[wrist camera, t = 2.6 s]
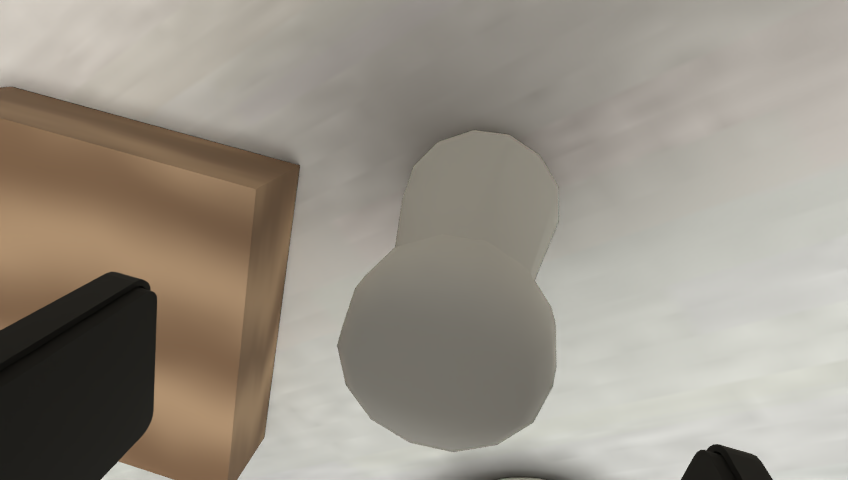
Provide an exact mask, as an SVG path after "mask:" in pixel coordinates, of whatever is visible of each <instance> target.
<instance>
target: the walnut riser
mask: <svg viewBox="0 0 848 480" xmlns="http://www.w3.org/2000/svg"><path fill="white" fill-rule="evenodd" d="M299 168H300V165H296V164H293V163H289V162H285V161H282V160H278V159H274V158H271V157H267V156H263V155H260V154H256V153H252V152H249V151H245V150H241V149H238V148H234V147H230V146H227V145H223V144H219V143H216V142H212V141H208V140H205V139H201V138H197V137H194V136H190V135H186V134H183V133H179V132H175V131H172V130H168V129H164V128H161V127H157V126H153V125H150V124H146V123H142V122H139V121H135V120H131V119H128V118H124V117H120V116H117V115H113V114H109V113H106V112H102V111H98V110H95V109H91V108H87V107H84V106H80V105H76V104H73V103H69V102H65V101H62V100H58V99H55V98H51V97H47V96H44V95H40V94H36V93H33V92H29V91H25V90H22V89H18V88H14V87H3V88H0V330H2V329H4V328H6V327H7V326H9V325H11V324H13V323H15V322H17V321H19V320H20V319H22V318H24V317H26V316H28V315H30V314H31V313H33V312H35V311H37V310H39V309H41V308H43V307H44V306H46V305H48V304H50V303H52V302H54V301H55V300H57V299H59V298H61V297H63V296H65V295H67V294H68V293H70V292H72V291H74V290H76V289H78V288H80V287H81V286H83V285H85V284H87V283H89V282H91V281H92V280H94V279H96V278H98V277H100V276H102V275H104V274H105V273H108V272H118V273H122V274H125V275H129V276H132V277H136V278H139V279H143V280H145V281H147V282H148V283H149V285H150V288H151V291H153V292H154V293H156V296H157V324H156V353H155V382H154V411H153V417H152V421H151V423H150V425H149V427H148V429H147V430H146V432H145V433H144V434H143V436H142V437H141V438H140V439H139V440H138V441H137V442H136V443H135V444H134V445H133V446H132V447H131V448H130V449H129V450H128V451H127V452H126V453H125V455H124V456H123V457H122V458H121V459H120V460H119V462H122V463H125V464H128V465H131V466H134V467H137V468H141V469H144V470H147V471H150V472H153V473H156V474H159V475H162V476H165V477H168V478H171V479H174V480H237V479H238V477H239V476H240V474H241V473H242V471H243V470H244V468H245V466H246V465H247V463H248V462H249V460H250V459H251V457H252V456H253V454H254V453H255V451H256V449H257V448H258V446H259V445H260V443H261V442H262V440H263V439H264V435H265V427H266V420H267V412H268V404H269V397H270V389H271V382H272V374H273V366H274V359H275V351H276V343H277V336H278V328H279V321H280V313H281V305H282V298H283V290H284V282H285V275H286V267H287V260H288V252H289V244H290V237H291V229H292V221H293V214H294V206H295V198H296V191H297V183H298V176H299Z"/></svg>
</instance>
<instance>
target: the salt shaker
mask: <svg viewBox="0 0 848 480" xmlns="http://www.w3.org/2000/svg"><path fill="white" fill-rule="evenodd" d="M558 222H559V194H558V185H557V184H556V182H555V180H554V179H553V177H552V175H551V173H550V172H549V170H548V168H547V166H546V165H545V163H544V161H543V160H542V158H541V156H540V155H539V154H537V153H536V152H534V151H533V150H531V149H530V148H528V147H527V146H525V145H524V144H522V143H521V142H519V141H518V140H516V139H515V138H513V137H512V136H510V135H509V134H501V133H493V132H485V131H477V130H472V131H469V132H466V133H463V134H460V135H457V136H454V137H451V138H448V139H445V140H442V141H439V142H437V143H436V144H435V145H434V146H433V147H432V148H431V149H430V150H429V151H428V152H427V153H426V154H425V155H424V156H423V157H422V158H421V159H420V160H419V161H418V162H417V163H416V164H415V165H414V166H413V169H412V172H411V175H410V178H409V181H408V184H407V187H406V190H405V193H404V196H403V199H402V205H401V212H400V218H399V225H398V231H397V238H396V245H395V248H394V249H393V250H392V251H391V252H390V253H389V254H388V255H387V256H385V257H384V258H383V259H382V260H381V261H380V262H379V263H378V264H377V265H376V266H375V267H374V268H373V269H372V270H371V271H370V272H369V273H368V274H367V275H366V276H365V277H364V278H363V279H362V281H361V282H360V283H359V284H358V285H357V287H356V288H355V290H354V293H353V296H352V300H351V303H350V306H349V309H348V312H347V315H346V318H345V321H344V324H343V327H342V330H341V334H340V337H339V341H338V344H337V347H338V351H339V356H340V360H341V365H342V370H343V374H344V379H345V383H346V386H347V387H348V389H349V390H350V391H351V393H352V394H353V395H354V397H355V398H356V399H357V401H358V402H359V404H360V405H361V406H362V408H363V409H364V410H365V412H366V413H367V414H368V416H369V417H370V419H371V420H373V421H375V422H376V423H378V424H380V425H381V426H383V427H385V428H386V429H388V430H390V431H391V432H393V433H395V434H396V435H398V436H400V437H401V438H403V439H405V440H406V441H408V442H410V443H414V444H419V445H423V446H428V447H432V448H437V449H441V450H446V451H451V452H457V451H463V450H469V449H475V448H481V447H487V446H493V445H498V444H499V443H501V442H503V441H504V440H506V439H507V438H509V437H511V436H512V435H514V434H515V433H517V432H519V431H520V430H522V429H524V428H525V427H527V426H528V425H530V424H532V423H533V422H534V420H535V418H536V416H537V415H538V413H539V411H540V409H541V407H542V405H543V403H544V402H545V400H546V398H547V396H548V394H549V392H550V390H551V389H552V387H553V382H554V377H555V371H556V326H555V319H554V316H553V312H552V308H551V306H550V304H549V303H548V301H547V299H546V298H545V296H544V295H543V293H542V291H541V290H540V288H539V287H538V285H537V283H536V282H535V279H536V276H537V274H538V271H539V268H540V266H541V264H542V261H543V259H544V256H545V254H546V251H547V249H548V246H549V244H550V242H551V239H552V237H553V234H554V232H555V229H556V227H557V224H558Z"/></svg>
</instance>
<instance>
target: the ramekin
mask: <svg viewBox="0 0 848 480" xmlns="http://www.w3.org/2000/svg"><path fill="white" fill-rule="evenodd" d="M499 480H544V479H537V478H506V479H499Z"/></svg>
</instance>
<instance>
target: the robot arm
mask: <svg viewBox="0 0 848 480" xmlns="http://www.w3.org/2000/svg"><path fill="white" fill-rule="evenodd" d="M156 324H157V296H156V293H154V292H153V291H151V288H150V285H149V283H148V282H147V281H145V280H143V279H139V278H136V277H132V276H129V275H125V274H122V273H118V272H108V273H105V274H104V275H102V276H100V277H98V278H96V279H94V280H92V281H91V282H89V283H87V284H85V285H83V286H81V287H80V288H78V289H76V290H74V291H72V292H70V293H68V294H67V295H65V296H63V297H61V298H59V299H57V300H55V301H54V302H52V303H50V304H48V305H46V306H44V307H43V308H41V309H39V310H37V311H35V312H33V313H31V314H30V315H28V316H26V317H24V318H22V319H20V320H19V321H17V322H15V323H13V324H11V325H9V326H7V327H6V328H4V329H2V330H0V480H101V479H102V478H103V476H104V475H105V474H106V473H107V472H108V471H109V470H110V469H111V468H112V467H113V466H114V465H115V464H116V463H117V462H118V461H119V460H120V459H121V458H122V457H123V456H124V455H125V453H126V452H127V451H128V450H129V449H130V448H131V447H132V446H133V445H134V444H135V443H136V442H137V441H138V440H139V439H140V438H141V437H142V436H143V434H144V433H145V432H146V430H147V429H148V427H149V425H150V423H151V421H152V417H153V411H154V382H155V353H156ZM681 480H773V479H772V478H771V476H770V475H769V473H768V471H767V470H766V468H765V467H764V465H763V464H762V462H761V461H760V460H759V459H758V457H757V456H755V455H753V454H750V453H747V452H743V451H740V450H736V449H733V448H729V447H726V446H722V445H719V444H715V445H712V446H710V447H709V448H708V449H707V450H700V451H698V452H697V453H696V454H695V456H694V457H693V459H692V461H691V463H690V465H689V466H688V468H687V470H686V472H685V473H684V475H683V477H682V479H681Z"/></svg>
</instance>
